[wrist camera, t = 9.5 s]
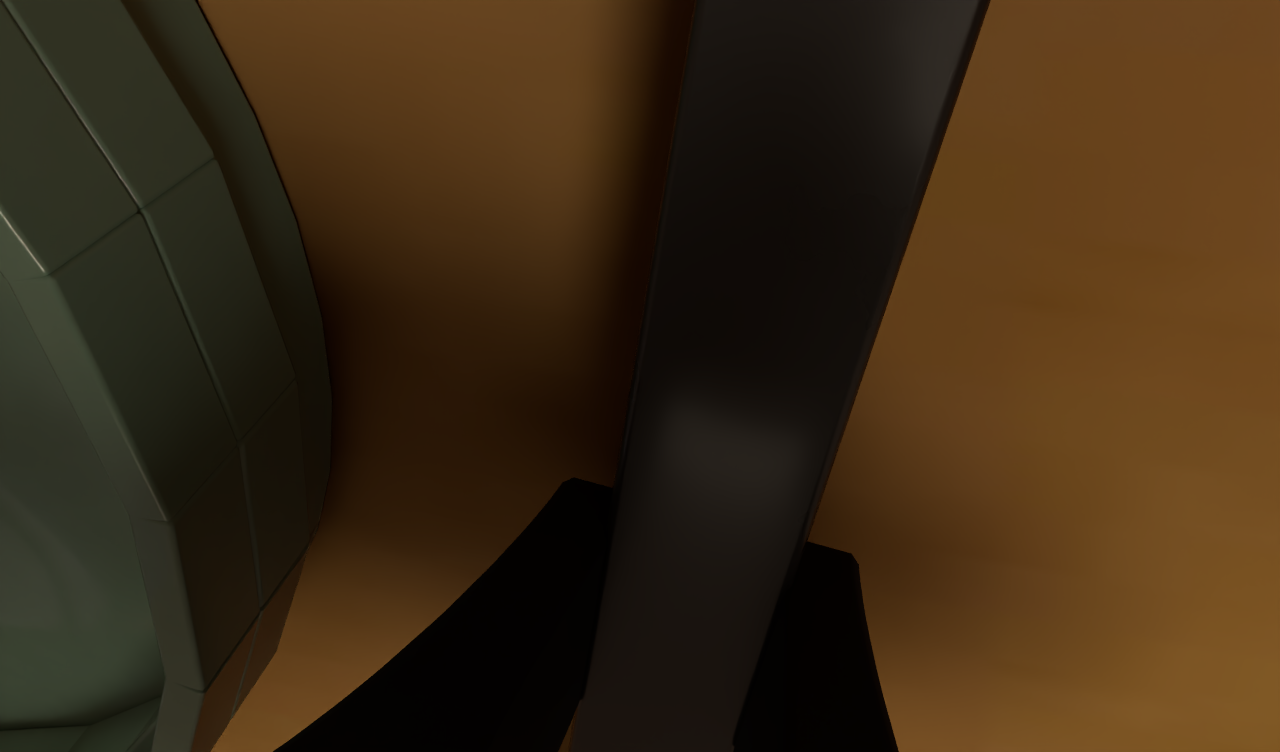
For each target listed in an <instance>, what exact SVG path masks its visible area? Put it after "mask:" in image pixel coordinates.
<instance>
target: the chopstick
mask: <svg viewBox="0 0 1280 752" xmlns="http://www.w3.org/2000/svg"><path fill="white" fill-rule="evenodd" d="M989 3H990V0H695V2H694V8H693V14H692V20H691V26H690V32H689V38H688V44H687V49H686V55H685V61H684V67H683V73H682V79H681V85H680V91H679V97H678V103H677V109H676V115H675V121H674V127H673V133H672V139H671V145H670V151H669V157H668V163H667V169H666V174H665V180H664V186H663V192H662V198H661V204H660V210H659V216H658V222H657V228H656V234H655V240H654V246H653V252H652V258H651V264H650V270H649V276H648V282H647V288H646V294H645V299H644V305H643V311H642V317H641V323H640V329H639V335H638V341H637V347H636V353H635V359H634V365H633V371H632V377H631V383H630V389H629V395H628V401H627V407H626V413H625V419H624V424H623V430H622V436H621V442H620V448H619V454H618V460H617V466H616V472H615V478H614V484H613V490H612V496H611V502H610V508H609V514H608V520H607V526H606V532H605V535H606V539H607V544H606V550H605V556H604V562H603V567H602V573H601V579H600V585H599V591H598V597H597V603H596V608H595V614H594V620H593V626H592V632H591V638H590V644H589V649H588V655H587V661H586V667H585V673H584V679H583V685H582V690H581V696H580V701H579V704H578V707H577V709H576V711H575V716H574V722H573V728H572V734H571V740H570V746H569V752H733V751H734V746H735V743H736V740H737V737H738V734H739V731H740V728H741V725H742V722H743V719H744V716H745V714H746V711H747V708H748V705H749V702H750V699H751V696H752V693H753V690H754V687H755V684H756V681H757V678H758V675H759V672H760V669H761V666H762V663H763V660H764V657H765V654H766V651H767V648H768V645H769V642H770V639H771V636H772V633H773V630H774V627H775V624H776V621H777V618H778V615H779V612H780V609H781V606H782V603H783V600H784V598H785V595H786V592H787V590H788V589H789V588H790V587H792V584H793V581H794V578H795V575H796V572H797V569H798V567H799V564H800V561H801V558H802V555H803V552H804V549H805V546H806V543H807V540H808V537H809V534H810V531H811V528H812V525H813V522H814V519H815V516H816V513H817V510H818V508H819V505H820V502H821V499H822V496H823V493H824V490H825V487H826V484H827V481H828V478H829V475H830V472H831V469H832V466H833V463H834V460H835V457H836V454H837V451H838V449H839V446H840V443H841V440H842V437H843V434H844V431H845V428H846V425H847V422H848V419H849V416H850V413H851V410H852V407H853V404H854V401H855V398H856V395H857V393H858V390H859V387H860V384H861V381H862V378H863V375H864V372H865V369H866V366H867V363H868V360H869V357H870V354H871V351H872V348H873V345H874V342H875V339H876V336H877V334H878V331H879V328H880V325H881V322H882V319H883V316H884V313H885V310H886V307H887V304H888V301H889V298H890V295H891V292H892V289H893V286H894V283H895V280H896V277H897V275H898V272H899V269H900V266H901V263H902V260H903V257H904V254H905V251H906V248H907V245H908V242H909V239H910V236H911V233H912V230H913V227H914V224H915V221H916V219H917V216H918V213H919V210H920V207H921V204H922V201H923V198H924V195H925V192H926V189H927V186H928V183H929V180H930V177H931V174H932V171H933V168H934V165H935V162H936V160H937V157H938V154H939V151H940V148H941V145H942V142H943V139H944V136H945V133H946V130H947V127H948V124H949V121H950V118H951V115H952V112H953V109H954V106H955V104H956V101H957V98H958V95H959V92H960V89H961V86H962V83H963V80H964V77H965V74H966V71H967V68H968V65H969V62H970V59H971V56H972V53H973V50H974V47H975V45H976V42H977V39H978V36H979V33H980V30H981V27H982V24H983V21H984V18H985V15H986V12H987V9H988V6H989Z"/></svg>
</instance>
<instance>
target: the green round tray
mask: <svg viewBox="0 0 1280 752" xmlns="http://www.w3.org/2000/svg"><path fill="white" fill-rule="evenodd" d="M331 428H332V391H331V383H330V375H329V368H328V360H327V352H326V344H325V337H324V329H323V321H322V314H321V311H320V307H319V303H318V299H317V296H316V292H315V288H314V284H313V281H312V277H311V273H310V269H309V266H308V262H307V258H306V254H305V251H304V247H303V243H302V239H301V236H300V232H299V228H298V224H297V221H296V218H295V216H294V213H293V211H292V208H291V205H290V203H289V200H288V198H287V195H286V193H285V190H284V188H283V185H282V183H281V180H280V178H279V175H278V172H277V170H276V167H275V165H274V162H273V160H272V157H271V155H270V152H269V150H268V147H267V145H266V142H265V139H264V137H263V134H262V132H261V129H260V127H259V124H258V122H257V119H256V117H255V114H254V112H253V110H252V109H251V107H250V105H249V103H248V101H247V99H246V97H245V95H244V93H243V91H242V89H241V87H240V85H239V83H238V81H237V79H236V77H235V76H234V74H233V72H232V70H231V68H230V66H229V64H228V62H227V60H226V58H225V56H224V54H223V52H222V50H221V48H220V46H219V45H218V43H217V41H216V39H215V37H214V35H213V33H212V31H211V29H210V27H209V25H208V23H207V21H206V19H205V17H204V15H203V14H202V12H201V10H200V8H199V6H198V4H197V2H196V0H0V752H210V751H211V750H212V748H213V747H214V745H215V744H216V742H217V741H218V739H219V738H220V736H221V735H222V733H223V732H224V730H225V729H226V727H227V725H228V724H229V722H230V720H231V719H232V718H233V716H234V715H235V713H236V712H237V710H238V709H239V707H240V706H241V704H242V703H243V701H244V700H245V698H246V697H247V695H248V694H249V692H250V691H251V689H252V688H253V686H254V685H255V683H256V682H257V680H258V679H259V677H260V676H261V674H262V673H263V671H264V670H265V668H266V667H267V665H268V664H269V662H270V661H271V659H272V657H273V656H274V654H275V653H276V651H277V648H278V645H279V641H280V638H281V635H282V632H283V629H284V625H285V622H286V619H287V616H288V613H289V610H290V606H291V603H292V600H293V597H294V594H295V591H296V587H297V584H298V581H299V578H300V575H301V571H302V568H303V565H304V562H305V559H306V556H307V553H308V550H309V548H310V546H311V543H312V541H313V539H314V537H315V534H316V532H317V530H318V526H319V521H320V516H321V511H322V507H323V502H324V497H325V492H326V488H327V483H328V478H329V473H330V467H331Z"/></svg>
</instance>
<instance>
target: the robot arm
mask: <svg viewBox="0 0 1280 752" xmlns="http://www.w3.org/2000/svg"><path fill="white" fill-rule="evenodd" d="M612 490H613V488H611V487H607V486H604V485H600V484H596V483H593V482H589V481H585V480H582V479H578V478H575V477H574V478H571V479H569V480H567V481H565V482H563V483H562V484H561V485H560V487H559V488H558V489H557V491H556V492H555V493H554V495H553V496H552V497H551V499H550V500H549V501H548V502H547V504H546V505H545V506H544V507H543V508H542V510H541V511H540V512H539V513H538V515H537V516H536V517H535V518H534V519H533V520H532V522H531V523H530V524H529V525H528V526H527V527H526V528H525V530H524V531H523V532H522V533H521V534H520V535H519V536H518V537H517V539H516V540H515V541H514V542H513V543H512V544H511V545H510V546H509V547H508V548H507V549H506V550H505V551H504V553H503V554H502V555H501V556H500V557H499V558H498V559H497V560H496V561H495V562H494V563H493V564H492V565H491V566H490V567H489V568H488V569H487V570H486V571H485V572H484V573H483V574H482V575H481V576H480V577H479V578H478V579H477V580H476V581H475V582H474V583H473V584H472V585H471V586H470V587H469V588H468V589H467V590H466V591H465V592H464V593H463V594H462V595H461V596H460V597H459V598H458V599H457V600H456V601H455V602H454V603H453V604H452V605H451V606H450V607H449V608H448V609H447V610H446V611H445V612H444V613H443V614H442V615H441V616H439V617H438V618H437V619H436V620H435V621H434V622H433V623H432V624H431V625H430V626H428V627H427V628H426V629H425V630H424V631H423V632H422V633H420V634H419V635H418V636H417V637H416V638H415V639H414V640H413V641H411V642H410V643H409V644H408V645H407V646H406V647H405V648H404V649H402V650H401V651H400V652H399V653H398V654H397V655H396V656H394V657H393V658H392V659H391V660H390V661H389V662H388V663H387V664H385V665H384V666H383V667H382V668H381V669H380V670H378V671H377V672H376V673H375V674H374V675H373V676H371V677H370V678H369V679H368V680H366V681H365V682H364V683H363V684H361V685H360V686H359V687H358V688H357V689H355V690H354V691H353V692H352V693H350V694H349V695H348V696H347V697H345V698H344V699H343V700H342V701H340V702H339V703H338V704H337V705H335V706H334V707H333V708H331V709H330V710H329V711H327V712H326V713H325V714H323V715H322V716H321V717H320V718H318V719H317V720H316V721H314V722H313V723H312V724H310V725H309V726H308V727H306V728H305V729H304V730H302V731H301V732H300V733H298V734H297V735H296V736H294V737H293V738H292V739H290V740H289V741H287V742H286V743H285V744H283V745H282V746H280V747H279V748H277V749H276V750H275V751H273V752H558V750H559V748H560V746H561V744H562V741H563V739H564V737H565V734H566V732H567V730H568V727H569V725H570V723H571V721H572V718H573V716H574V714H575V711H576V709H577V707H578V704H579V701H580V696H581V690H582V685H583V679H584V673H585V667H586V661H587V655H588V649H589V644H590V638H591V632H592V626H593V620H594V614H595V608H596V603H597V597H598V591H599V585H600V579H601V573H602V567H603V562H604V556H605V550H606V544H607V539H606V535H605V532H606V526H607V520H608V514H609V508H610V502H611V496H612ZM733 752H899V751H898V747H897V744H896V740H895V737H894V733H893V730H892V726H891V722H890V719H889V715H888V712H887V708H886V705H885V701H884V697H883V693H882V689H881V685H880V681H879V677H878V673H877V669H876V664H875V660H874V655H873V650H872V646H871V641H870V637H869V631H868V626H867V621H866V616H865V610H864V604H863V597H862V590H861V583H860V573H859V564H858V563H857V561H856V560H855V558H854V557H853V555H852V554H851V553H847V552H844V551H840V550H836V549H833V548H829V547H825V546H822V545H818V544H815V543H811V542H807V543H806V546H805V549H804V552H803V555H802V558H801V561H800V564H799V567H798V569H797V572H796V575H795V578H794V581H793V584H792V587H790V588H789V589H788V590H787V592H786V595H785V598H784V600H783V603H782V606H781V609H780V612H779V615H778V618H777V621H776V624H775V627H774V630H773V633H772V636H771V639H770V642H769V645H768V648H767V651H766V654H765V657H764V660H763V663H762V666H761V669H760V672H759V675H758V678H757V681H756V684H755V687H754V690H753V693H752V696H751V699H750V702H749V705H748V708H747V711H746V714H745V716H744V719H743V722H742V725H741V728H740V731H739V734H738V737H737V740H736V743H735V746H734V751H733Z"/></svg>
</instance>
